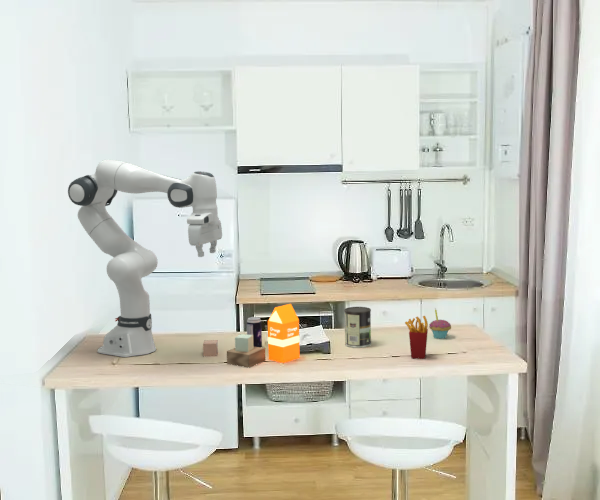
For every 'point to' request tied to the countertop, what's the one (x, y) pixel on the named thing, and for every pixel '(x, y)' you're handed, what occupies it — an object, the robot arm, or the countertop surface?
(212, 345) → the terracotta cube
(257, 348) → the walnut block
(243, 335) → the sage cube
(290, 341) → the orange juice
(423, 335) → the french fries
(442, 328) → the cupcake
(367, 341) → the coffee can
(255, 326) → the beverage can
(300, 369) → the countertop surface
